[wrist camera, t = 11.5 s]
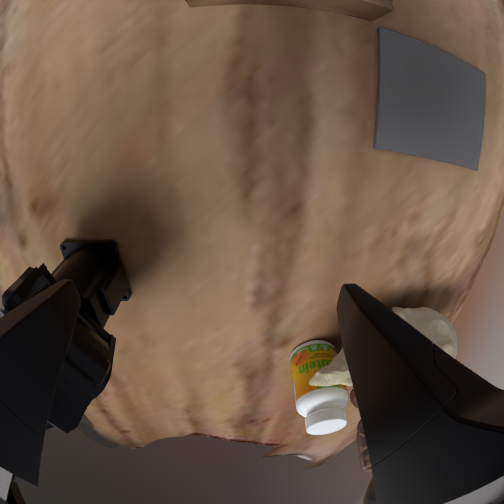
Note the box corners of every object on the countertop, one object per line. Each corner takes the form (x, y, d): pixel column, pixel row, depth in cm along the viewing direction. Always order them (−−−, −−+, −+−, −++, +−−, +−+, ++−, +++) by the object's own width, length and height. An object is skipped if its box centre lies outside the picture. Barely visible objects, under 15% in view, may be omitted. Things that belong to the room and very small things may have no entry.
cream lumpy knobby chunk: (440, 301, 29) (477, 290, 16) (441, 355, 27) (478, 377, 14) (332, 314, 36) (305, 312, 22) (333, 366, 34) (306, 395, 20)
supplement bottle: (332, 333, 28) (354, 410, 19) (337, 359, 30) (354, 428, 22) (284, 346, 29) (294, 425, 20) (294, 371, 31) (304, 441, 23)
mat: (373, 147, 18) (375, 148, 18) (377, 28, 13) (380, 26, 13) (474, 169, 18) (477, 170, 18) (482, 73, 13) (485, 73, 13)
